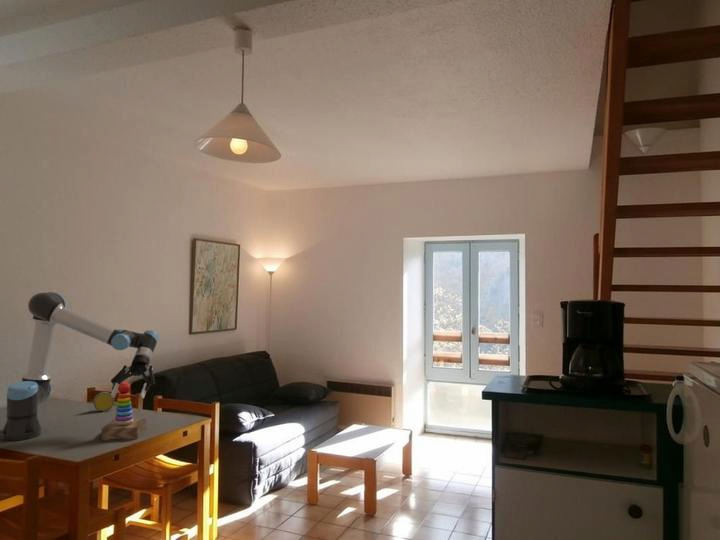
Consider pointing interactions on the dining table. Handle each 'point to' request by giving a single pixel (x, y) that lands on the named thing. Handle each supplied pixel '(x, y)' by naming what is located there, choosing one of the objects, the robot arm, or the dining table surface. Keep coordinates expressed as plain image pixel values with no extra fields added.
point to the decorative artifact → (103, 401)
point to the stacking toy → (124, 405)
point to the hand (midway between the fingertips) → (127, 396)
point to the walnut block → (123, 430)
